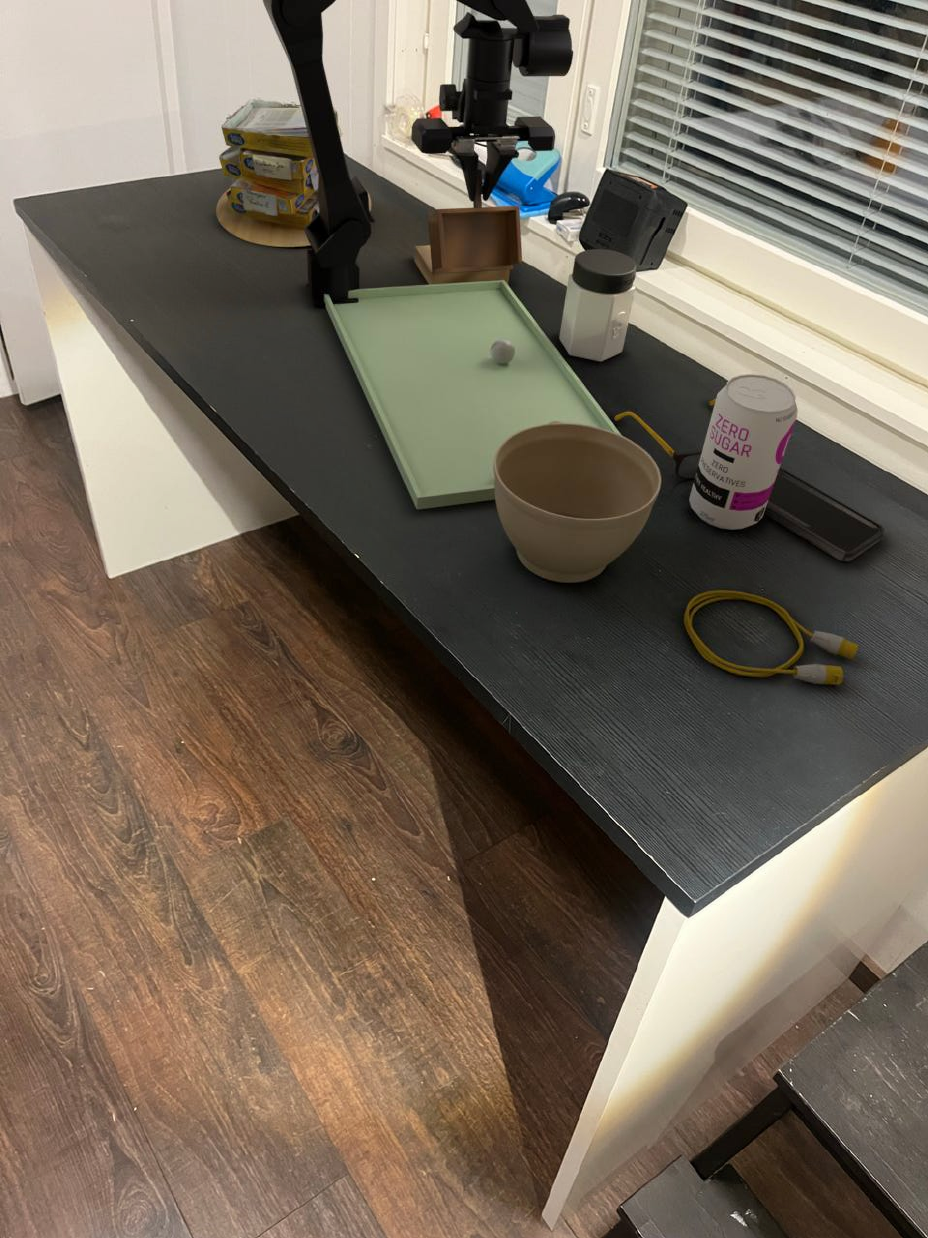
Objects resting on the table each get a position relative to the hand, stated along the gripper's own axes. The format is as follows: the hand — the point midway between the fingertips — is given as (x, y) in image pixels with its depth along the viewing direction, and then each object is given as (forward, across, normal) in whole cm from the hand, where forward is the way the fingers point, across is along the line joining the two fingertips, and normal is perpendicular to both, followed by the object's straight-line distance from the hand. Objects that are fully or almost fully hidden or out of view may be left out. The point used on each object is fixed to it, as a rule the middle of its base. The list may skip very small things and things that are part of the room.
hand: (478, 200), depth 133 cm
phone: (+13, -20, +61) cm, 65 cm away
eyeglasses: (+13, -14, +45) cm, 49 cm away
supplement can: (+13, -11, +58) cm, 60 cm away
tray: (+13, +9, +26) cm, 30 cm away
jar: (+13, -11, +20) cm, 26 cm away
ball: (+11, +3, +23) cm, 25 cm away
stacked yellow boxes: (+13, +21, -29) cm, 38 cm away
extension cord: (+13, -4, +78) cm, 79 cm away
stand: (+13, 0, -5) cm, 14 cm away
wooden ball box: (+5, 0, -3) cm, 5 cm away
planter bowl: (+13, +10, +61) cm, 63 cm away
